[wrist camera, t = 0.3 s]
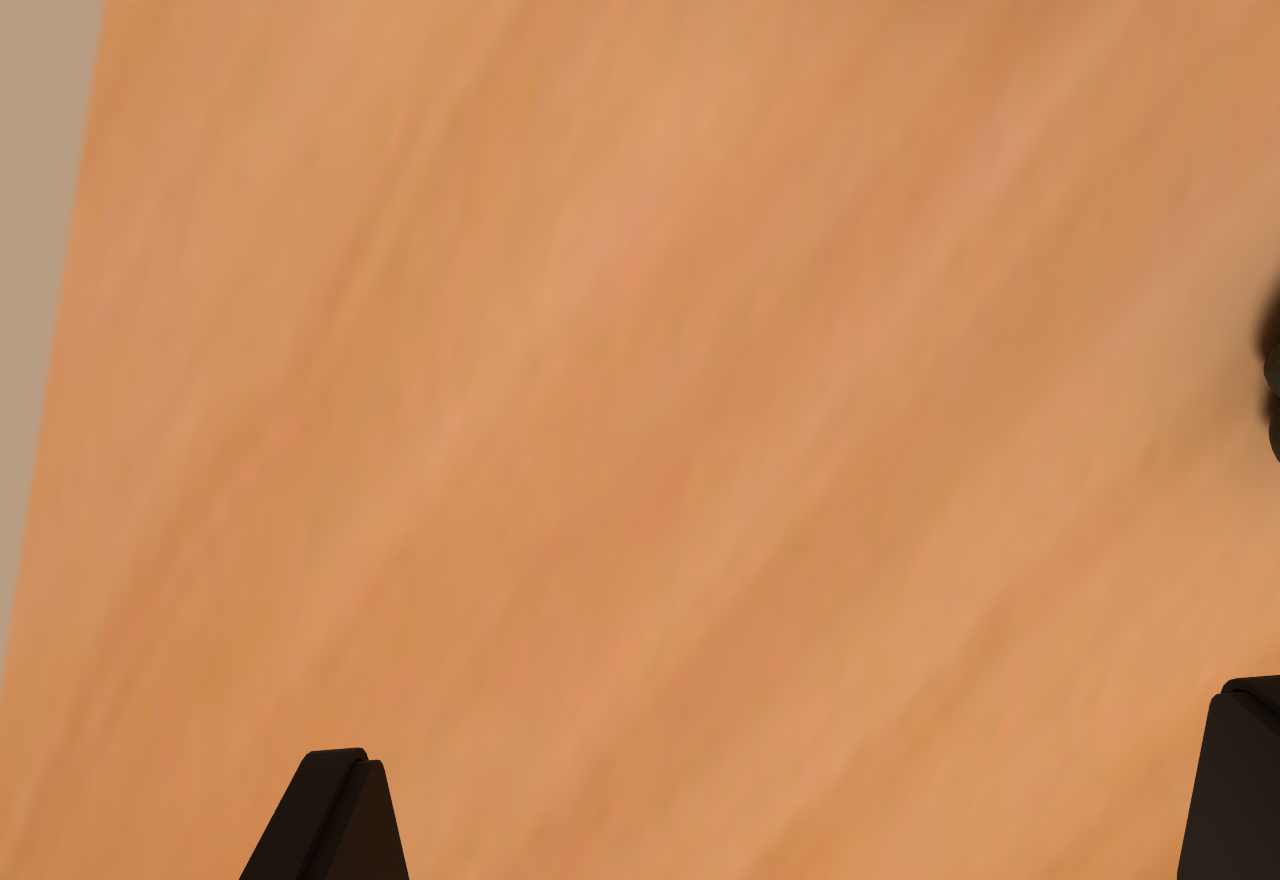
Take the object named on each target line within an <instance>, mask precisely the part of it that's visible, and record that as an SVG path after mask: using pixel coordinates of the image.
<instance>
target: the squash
mask: <svg viewBox="0 0 1280 880" xmlns="http://www.w3.org/2000/svg"><path fill="white" fill-rule="evenodd" d="M1264 376H1265V378H1266V380H1267V382H1268V384H1269V386H1270V387H1271V388H1272V390H1273V391H1274V392H1275V394H1276V395H1278V396H1279V397H1280V342H1279V343H1278V344H1277V345H1276V346H1275V347H1274V348H1273V349H1272V350H1271V352H1270V354H1269V355H1268V357H1267V358H1266V360H1265V363H1264ZM1269 439H1270V443H1271V447H1272V450H1273V452H1274V454H1275V456H1276V458H1277V460H1278V461H1279V462H1280V406H1279V407H1278V408H1277V410H1276V411H1275V413H1274V415H1273V417H1272V419H1271V421H1270V426H1269Z"/></svg>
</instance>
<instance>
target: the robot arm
mask: <svg viewBox="0 0 1280 880" xmlns="http://www.w3.org/2000/svg"><path fill="white" fill-rule="evenodd" d="M239 880H409V876H408V871H407V867H406V863H405V858H404V854H403V849H402V845H401V840H400V836H399V832H398V827H397V823H396V818H395V814H394V809H393V805H392V800H391V796H390V792H389V787H388V783H387V778H386V774H385V770H384V766H383V764H382V762H381V761H380V760H369V759H368V756H367V753H366V752H365V751H364V749H363V748H346V749H334V750H321V751H311V752H310V753H308V754H306V756H305V757H304V759H303V760H302V761H301V763H300V765H299V767H298V769H297V771H296V773H295V775H294V777H293V778H292V780H291V782H290V784H289V786H288V788H287V790H286V792H285V793H284V795H283V797H282V799H281V801H280V803H279V805H278V807H277V809H276V810H275V812H274V814H273V816H272V818H271V820H270V822H269V824H268V825H267V827H266V829H265V831H264V833H263V835H262V837H261V839H260V841H259V842H258V844H257V846H256V848H255V850H254V852H253V854H252V856H251V857H250V859H249V861H248V863H247V865H246V867H245V869H244V871H243V873H242V874H241V876H240V878H239ZM1177 880H1280V675H1273V676H1260V677H1248V678H1236V679H1232V680H1229V681H1228V682H1227V683H1226V684H1225V685H1224V686H1223V688H1222V691H1221V694H1216V695H1215V696H1214V697H1213V698H1212V700H1211V702H1210V705H1209V711H1208V716H1207V721H1206V726H1205V731H1204V736H1203V742H1202V747H1201V752H1200V757H1199V762H1198V767H1197V773H1196V778H1195V783H1194V788H1193V793H1192V798H1191V804H1190V809H1189V814H1188V819H1187V824H1186V829H1185V835H1184V840H1183V845H1182V850H1181V855H1180V860H1179V866H1178V871H1177Z"/></svg>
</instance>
